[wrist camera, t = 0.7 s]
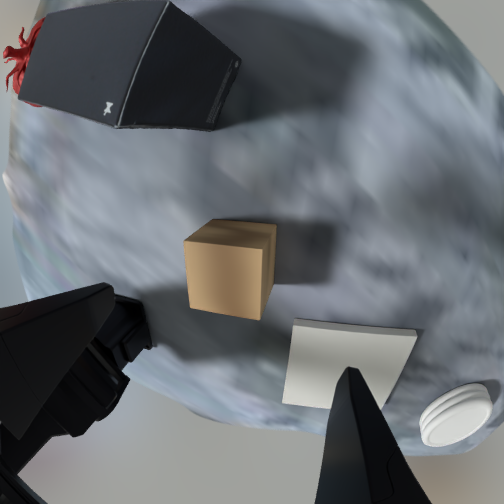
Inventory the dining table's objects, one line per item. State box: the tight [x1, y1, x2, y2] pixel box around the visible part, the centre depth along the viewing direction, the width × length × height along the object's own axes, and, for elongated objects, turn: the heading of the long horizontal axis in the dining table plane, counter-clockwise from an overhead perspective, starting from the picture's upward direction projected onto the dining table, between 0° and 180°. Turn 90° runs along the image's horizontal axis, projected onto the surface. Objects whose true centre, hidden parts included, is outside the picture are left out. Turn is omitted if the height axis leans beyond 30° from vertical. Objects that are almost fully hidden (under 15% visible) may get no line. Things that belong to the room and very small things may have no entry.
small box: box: [18, 0, 242, 132], centre depth 13 cm, size 11×6×10 cm, turn 68°
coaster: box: [419, 383, 493, 447], centre depth 22 cm, size 10×10×4 cm
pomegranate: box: [3, 17, 45, 107], centre depth 14 cm, size 10×10×9 cm
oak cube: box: [184, 219, 277, 320], centre depth 20 cm, size 5×5×5 cm
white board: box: [282, 318, 417, 410], centre depth 23 cm, size 11×11×1 cm
